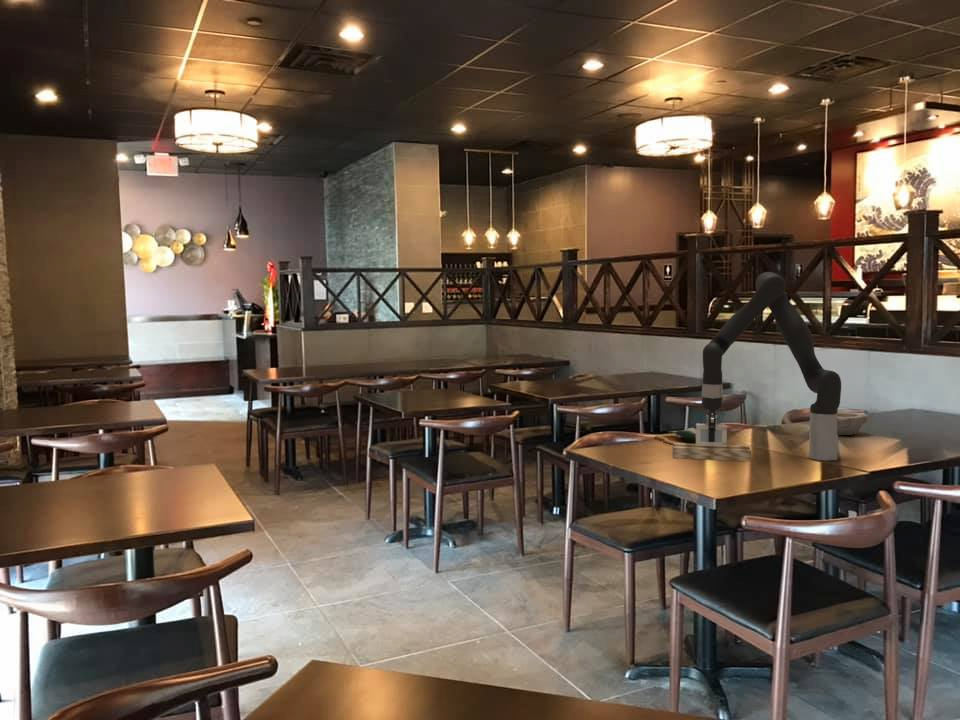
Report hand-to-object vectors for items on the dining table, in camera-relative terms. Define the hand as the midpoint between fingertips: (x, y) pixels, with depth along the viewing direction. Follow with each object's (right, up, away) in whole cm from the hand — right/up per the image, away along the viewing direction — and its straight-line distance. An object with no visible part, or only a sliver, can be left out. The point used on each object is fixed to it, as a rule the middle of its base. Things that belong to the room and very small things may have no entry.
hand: (711, 440), depth 283 cm
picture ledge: (0, -6, +1) cm, 6 cm away
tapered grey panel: (0, -2, 0) cm, 2 cm away
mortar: (+72, -2, +46) cm, 85 cm away
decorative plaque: (-1, -5, +28) cm, 29 cm away
